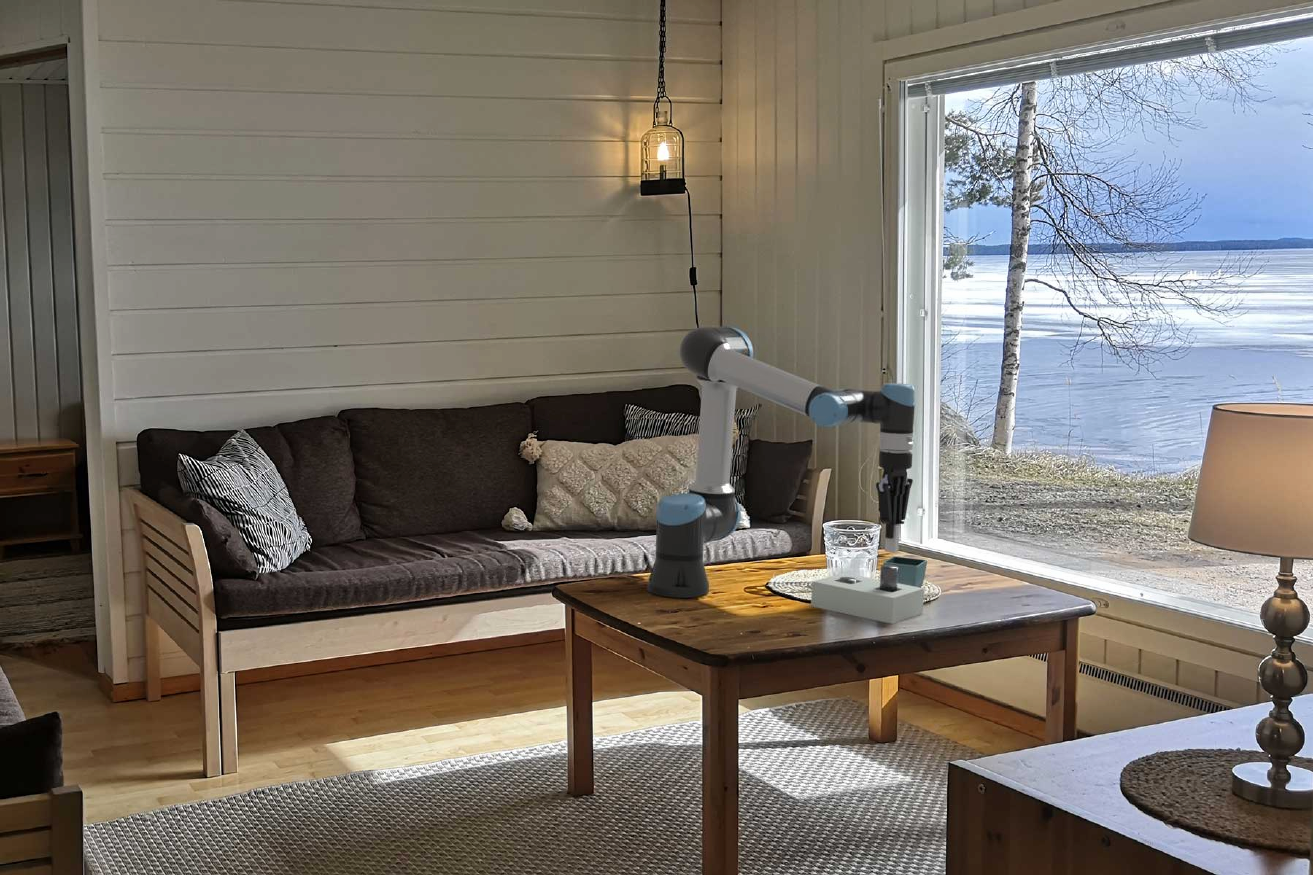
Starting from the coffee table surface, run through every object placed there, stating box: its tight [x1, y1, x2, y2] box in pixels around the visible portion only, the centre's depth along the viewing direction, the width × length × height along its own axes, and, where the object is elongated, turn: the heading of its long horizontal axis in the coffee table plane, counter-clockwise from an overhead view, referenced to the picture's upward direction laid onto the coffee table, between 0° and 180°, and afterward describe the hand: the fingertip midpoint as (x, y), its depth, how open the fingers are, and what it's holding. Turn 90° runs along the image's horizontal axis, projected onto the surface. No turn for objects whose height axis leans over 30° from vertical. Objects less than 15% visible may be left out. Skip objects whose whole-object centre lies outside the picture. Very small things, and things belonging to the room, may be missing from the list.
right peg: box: [879, 564, 898, 592], centre depth 303 cm, size 4×4×6 cm
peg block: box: [810, 572, 925, 625], centre depth 307 cm, size 22×14×6 cm, turn 50°
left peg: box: [839, 577, 856, 584], centre depth 310 cm, size 4×4×6 cm
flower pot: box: [882, 556, 928, 588], centre depth 322 cm, size 9×9×9 cm
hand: (891, 551), depth 302 cm, fingers closed
